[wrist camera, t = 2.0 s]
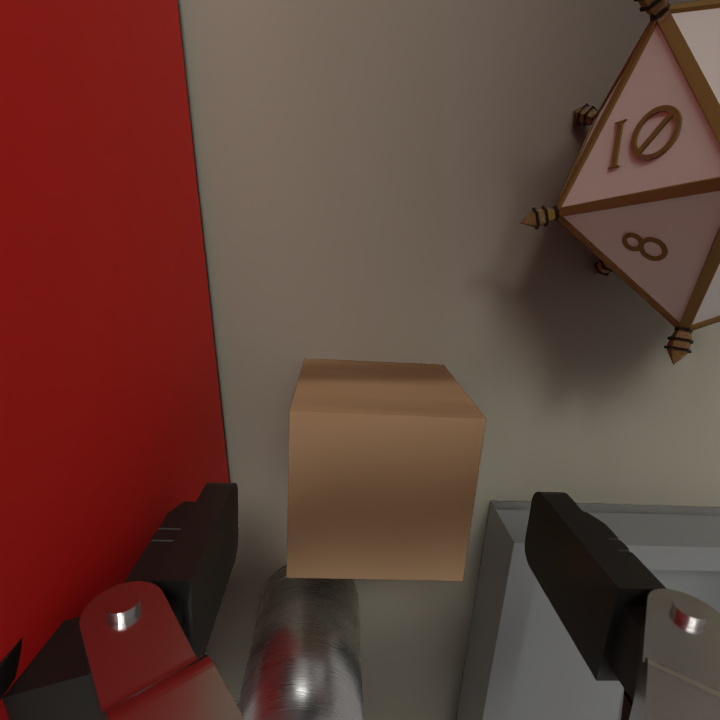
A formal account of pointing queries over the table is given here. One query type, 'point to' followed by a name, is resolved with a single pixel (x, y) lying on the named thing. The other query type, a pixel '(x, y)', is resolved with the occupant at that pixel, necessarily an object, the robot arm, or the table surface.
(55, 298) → the book
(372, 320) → the table surface
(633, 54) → the game die
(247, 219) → the table surface
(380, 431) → the walnut cube
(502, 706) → the charcoal tray
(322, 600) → the steel cylinder
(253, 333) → the table surface
